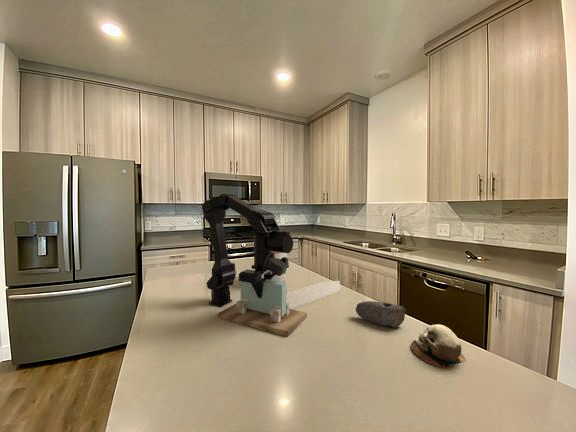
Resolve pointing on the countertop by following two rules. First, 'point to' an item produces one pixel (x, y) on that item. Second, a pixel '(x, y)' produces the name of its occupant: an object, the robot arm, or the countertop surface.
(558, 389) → the countertop surface
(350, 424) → the countertop surface
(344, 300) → the countertop surface
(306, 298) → the decorative molding
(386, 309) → the perforated stone tool
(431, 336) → the skull
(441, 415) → the countertop surface
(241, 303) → the wooden pegged board
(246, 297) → the door
